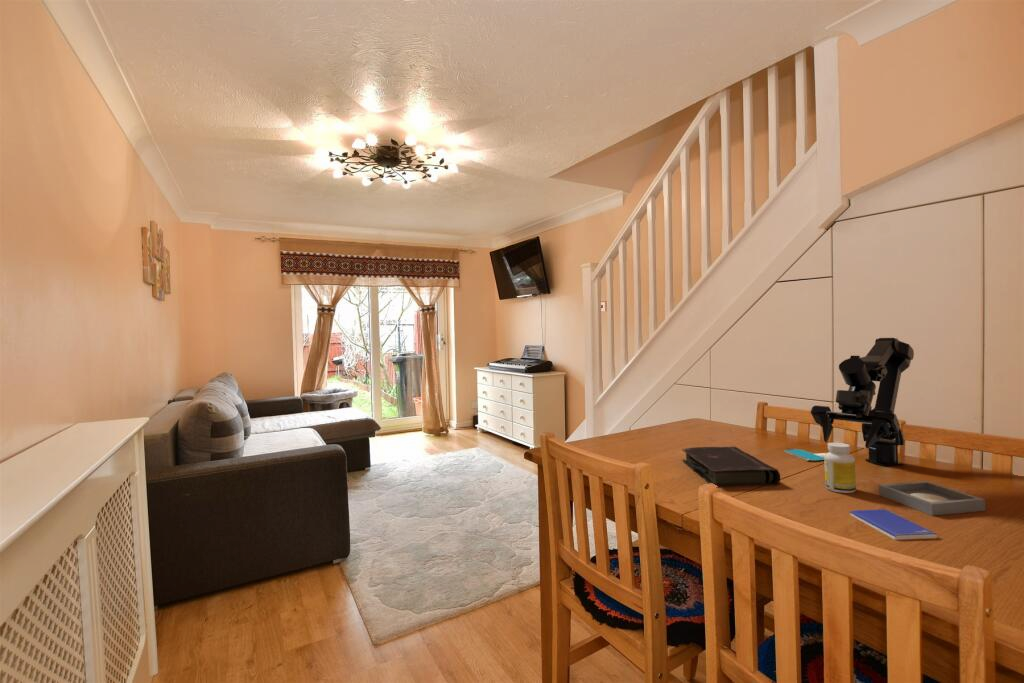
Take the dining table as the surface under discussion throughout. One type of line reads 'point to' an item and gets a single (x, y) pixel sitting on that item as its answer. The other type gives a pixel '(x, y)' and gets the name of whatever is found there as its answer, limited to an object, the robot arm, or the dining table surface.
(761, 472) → the diary
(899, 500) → the holder tray
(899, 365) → the robot arm
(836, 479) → the pill bottle
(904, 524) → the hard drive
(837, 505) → the dining table surface
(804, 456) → the teal flat slab
